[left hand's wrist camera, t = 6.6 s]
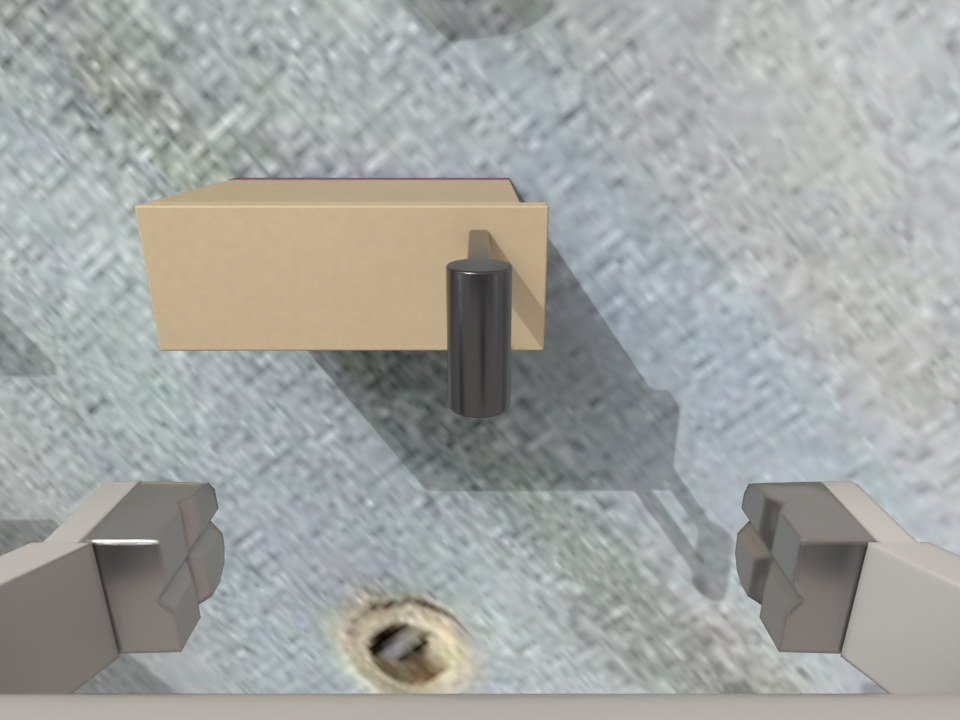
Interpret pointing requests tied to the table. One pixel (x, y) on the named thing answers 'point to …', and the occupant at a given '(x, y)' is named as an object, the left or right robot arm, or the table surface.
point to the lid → (355, 282)
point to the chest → (352, 190)
